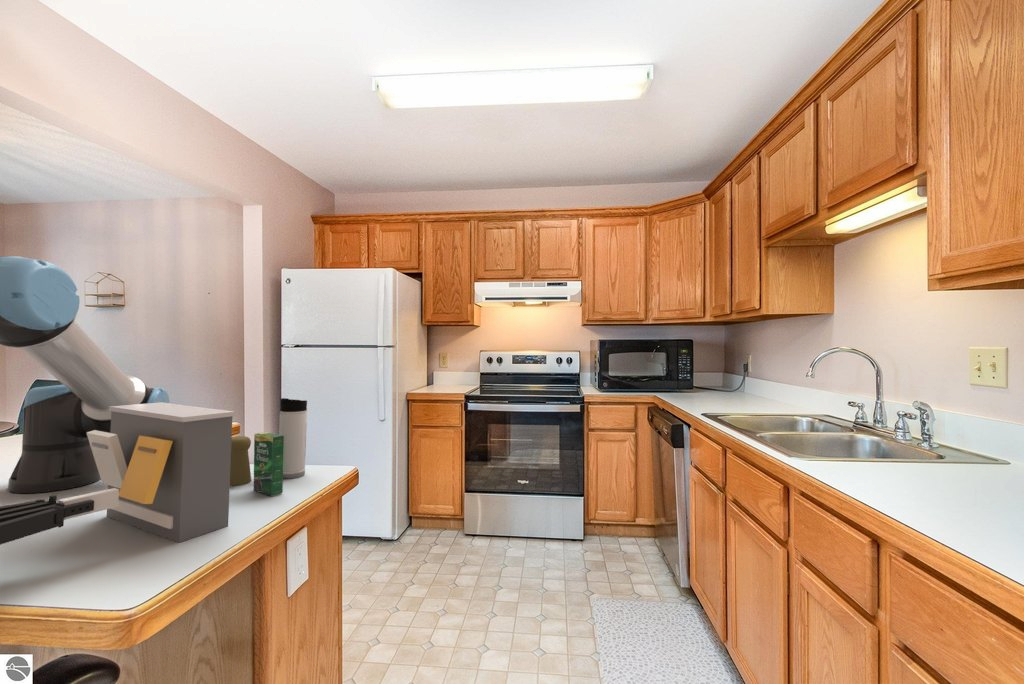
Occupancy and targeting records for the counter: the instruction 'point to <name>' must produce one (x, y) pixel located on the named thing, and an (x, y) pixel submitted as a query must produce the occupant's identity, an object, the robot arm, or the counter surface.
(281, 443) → the coffee box
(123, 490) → the rocker amber
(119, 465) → the rocker ivory
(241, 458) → the cork
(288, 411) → the travel mug
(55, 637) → the counter surface
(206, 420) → the switch panel
